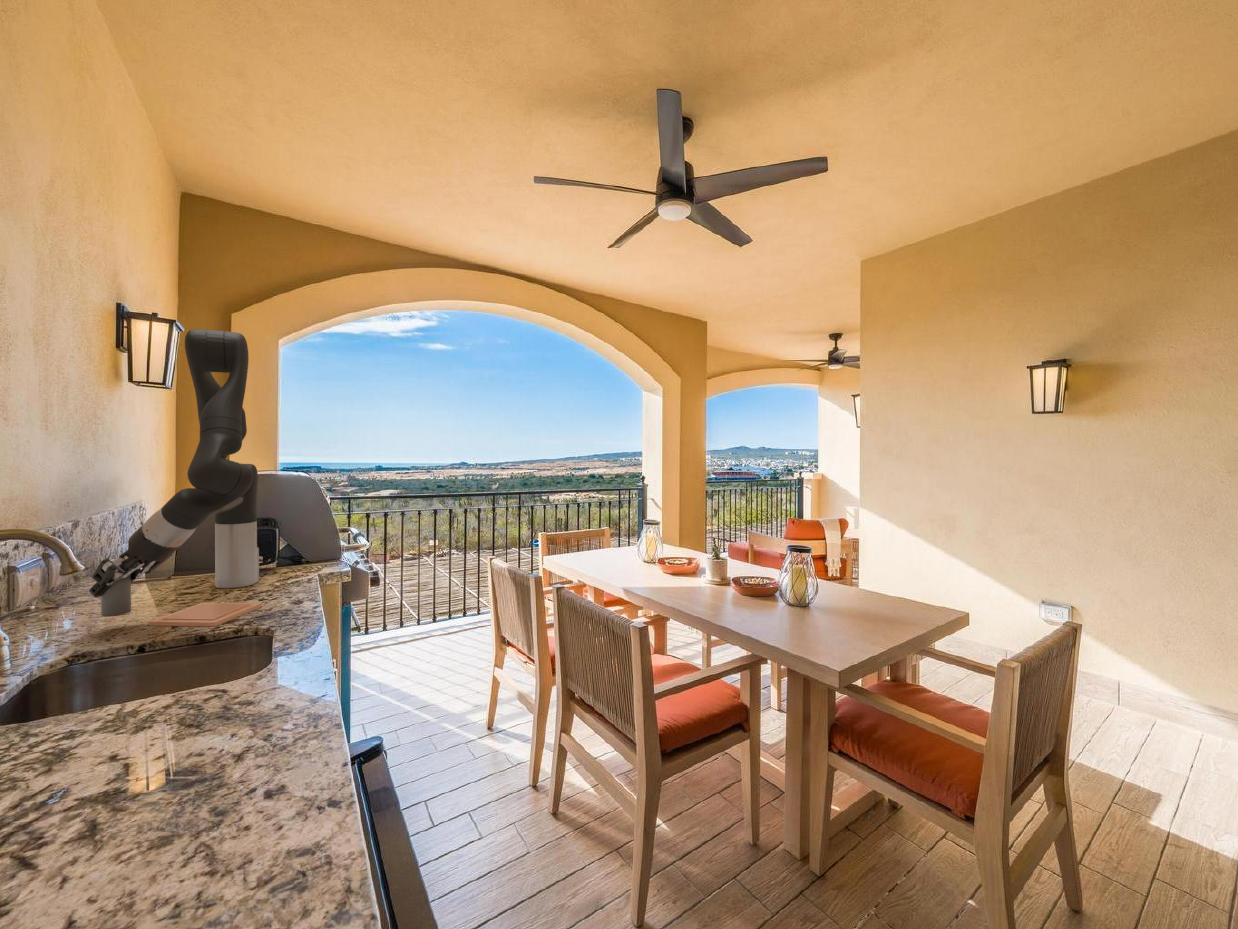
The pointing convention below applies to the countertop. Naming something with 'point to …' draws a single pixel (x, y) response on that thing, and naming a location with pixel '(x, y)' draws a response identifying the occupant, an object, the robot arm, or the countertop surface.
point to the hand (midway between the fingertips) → (106, 590)
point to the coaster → (205, 614)
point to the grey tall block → (117, 597)
